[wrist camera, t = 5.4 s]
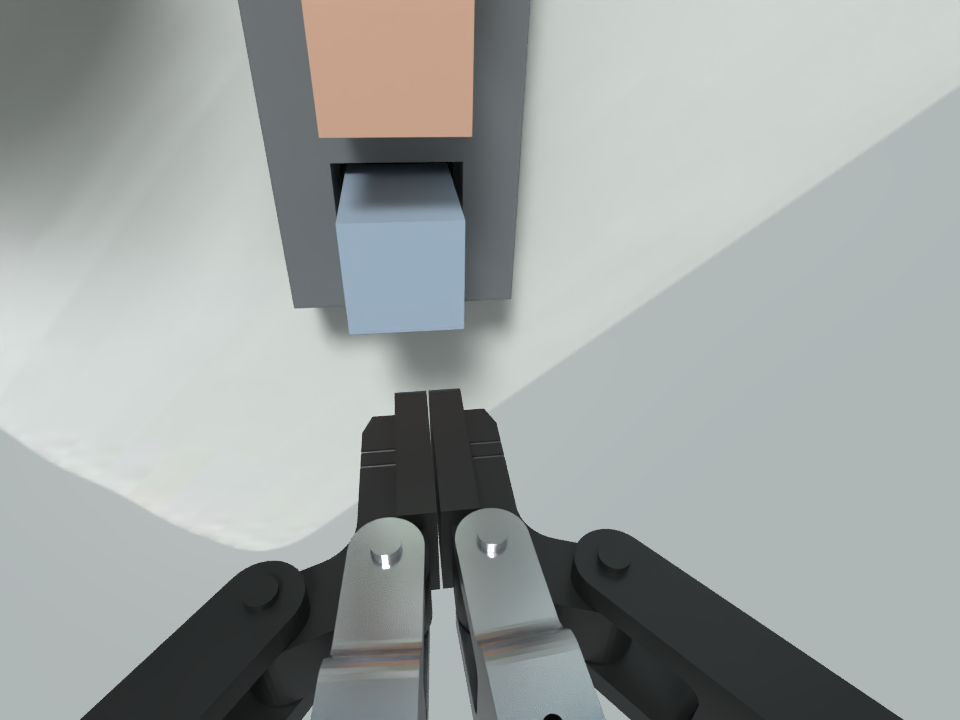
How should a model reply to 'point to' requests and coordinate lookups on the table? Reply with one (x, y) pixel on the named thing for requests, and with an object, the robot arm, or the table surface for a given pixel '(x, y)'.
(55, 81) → the table surface
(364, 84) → the terracotta key
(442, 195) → the slate key
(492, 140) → the grey long flat block
